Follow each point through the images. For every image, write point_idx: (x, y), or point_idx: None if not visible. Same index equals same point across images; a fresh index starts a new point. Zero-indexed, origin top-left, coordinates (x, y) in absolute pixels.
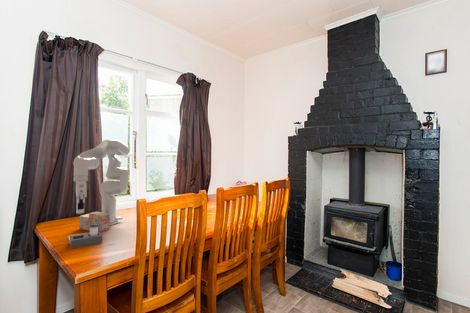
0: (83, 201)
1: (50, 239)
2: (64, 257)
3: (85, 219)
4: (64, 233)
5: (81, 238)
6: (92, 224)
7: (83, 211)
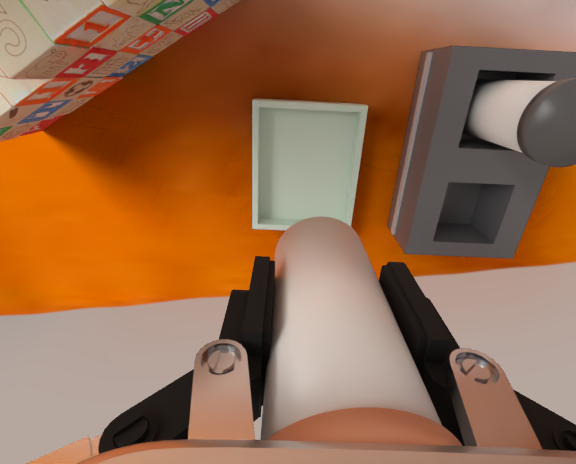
0: (503, 379)
1: (213, 290)
2: (543, 261)
3: (30, 105)
4: (122, 224)
5: (519, 202)
6: (558, 137)
7: (354, 235)
